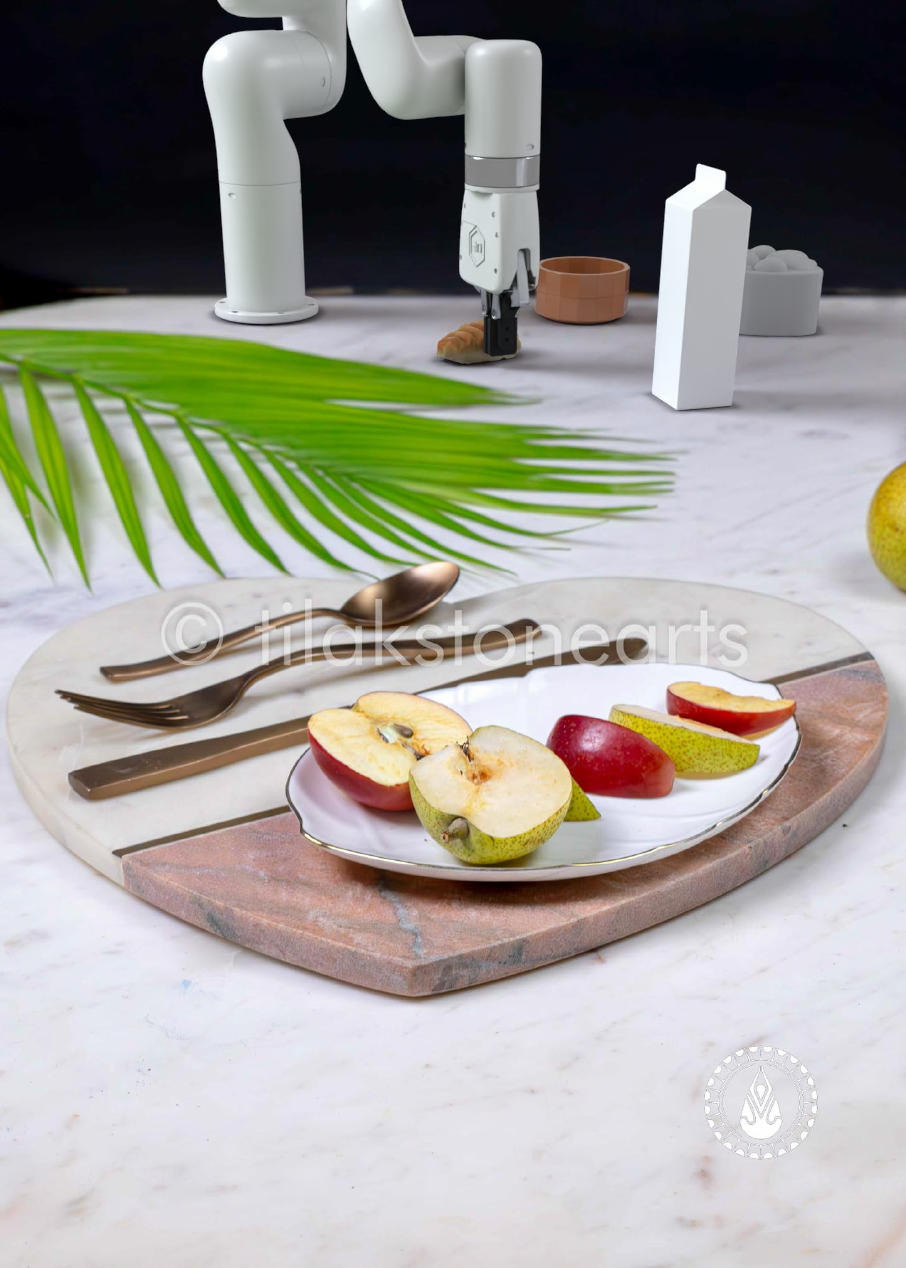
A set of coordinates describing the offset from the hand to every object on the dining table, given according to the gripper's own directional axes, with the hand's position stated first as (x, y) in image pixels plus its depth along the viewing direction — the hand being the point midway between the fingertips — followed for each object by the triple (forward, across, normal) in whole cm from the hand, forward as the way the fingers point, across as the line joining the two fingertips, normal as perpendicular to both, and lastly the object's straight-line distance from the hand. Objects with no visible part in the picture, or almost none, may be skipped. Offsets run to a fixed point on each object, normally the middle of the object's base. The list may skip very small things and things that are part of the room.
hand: (500, 353), depth 145 cm
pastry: (+2, -5, 0) cm, 5 cm away
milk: (+2, +19, +12) cm, 22 cm away
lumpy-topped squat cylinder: (+2, -4, +37) cm, 37 cm away
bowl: (+1, -17, +20) cm, 26 cm away
